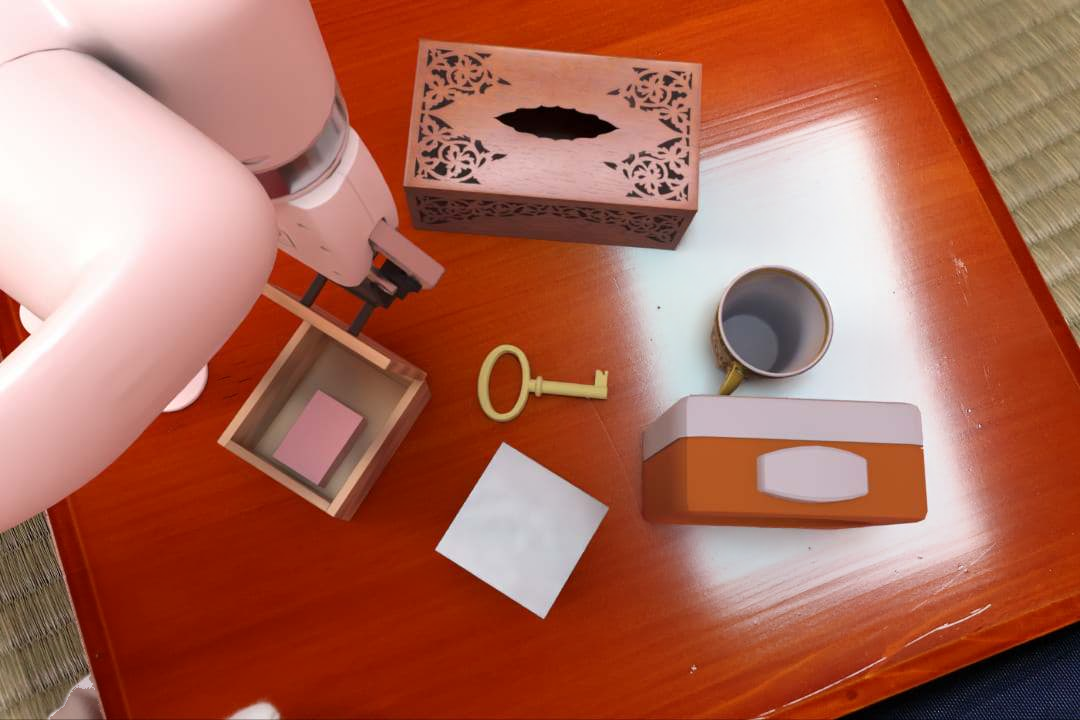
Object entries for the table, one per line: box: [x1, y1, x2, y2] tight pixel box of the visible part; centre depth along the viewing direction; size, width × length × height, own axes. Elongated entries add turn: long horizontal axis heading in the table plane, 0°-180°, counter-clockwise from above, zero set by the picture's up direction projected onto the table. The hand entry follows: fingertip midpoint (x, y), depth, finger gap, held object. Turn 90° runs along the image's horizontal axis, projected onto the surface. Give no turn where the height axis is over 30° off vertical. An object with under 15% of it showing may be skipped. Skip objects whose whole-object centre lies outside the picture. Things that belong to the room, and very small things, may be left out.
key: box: [477, 344, 609, 423], centre depth 81 cm, size 7×12×2 cm, turn 102°
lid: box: [261, 271, 428, 381], centre depth 66 cm, size 14×12×5 cm
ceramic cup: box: [709, 264, 834, 396], centre depth 78 cm, size 13×10×10 cm
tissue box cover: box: [402, 38, 703, 251], centre depth 82 cm, size 26×14×10 cm, turn 86°
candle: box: [19, 304, 209, 413], centre depth 68 cm, size 7×7×25 cm
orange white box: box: [642, 394, 929, 531], centre depth 71 cm, size 18×9×21 cm, turn 88°
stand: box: [434, 440, 611, 621], centre depth 66 cm, size 8×8×25 cm
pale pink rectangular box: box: [272, 389, 368, 488], centre depth 77 cm, size 7×5×3 cm
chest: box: [216, 320, 433, 522], centre depth 76 cm, size 14×12×8 cm
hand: (332, 247), depth 54 cm, fingers open, 9 cm apart
